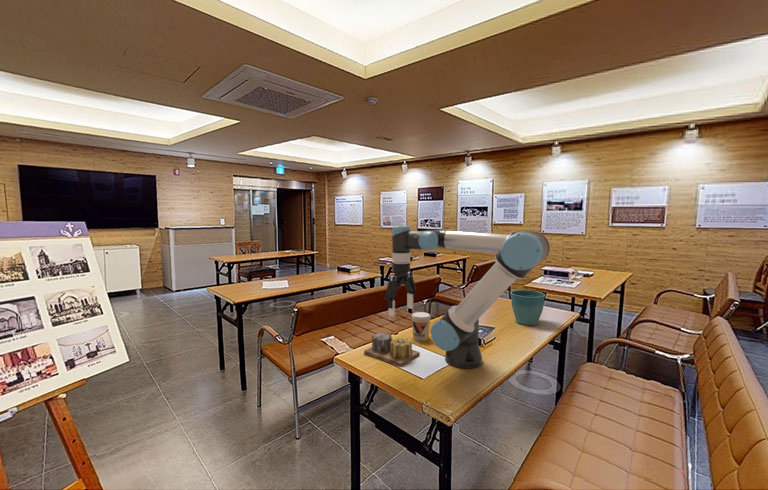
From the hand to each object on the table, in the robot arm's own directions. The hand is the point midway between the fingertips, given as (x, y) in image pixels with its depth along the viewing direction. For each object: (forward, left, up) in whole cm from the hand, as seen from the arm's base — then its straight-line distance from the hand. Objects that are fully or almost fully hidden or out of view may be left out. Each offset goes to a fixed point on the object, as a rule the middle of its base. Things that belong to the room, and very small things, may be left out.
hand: (401, 311), depth 140 cm
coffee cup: (+6, -25, -21) cm, 33 cm away
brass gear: (0, 0, -19) cm, 19 cm away
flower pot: (-29, -83, -21) cm, 90 cm away
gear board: (+5, 0, -20) cm, 21 cm away
